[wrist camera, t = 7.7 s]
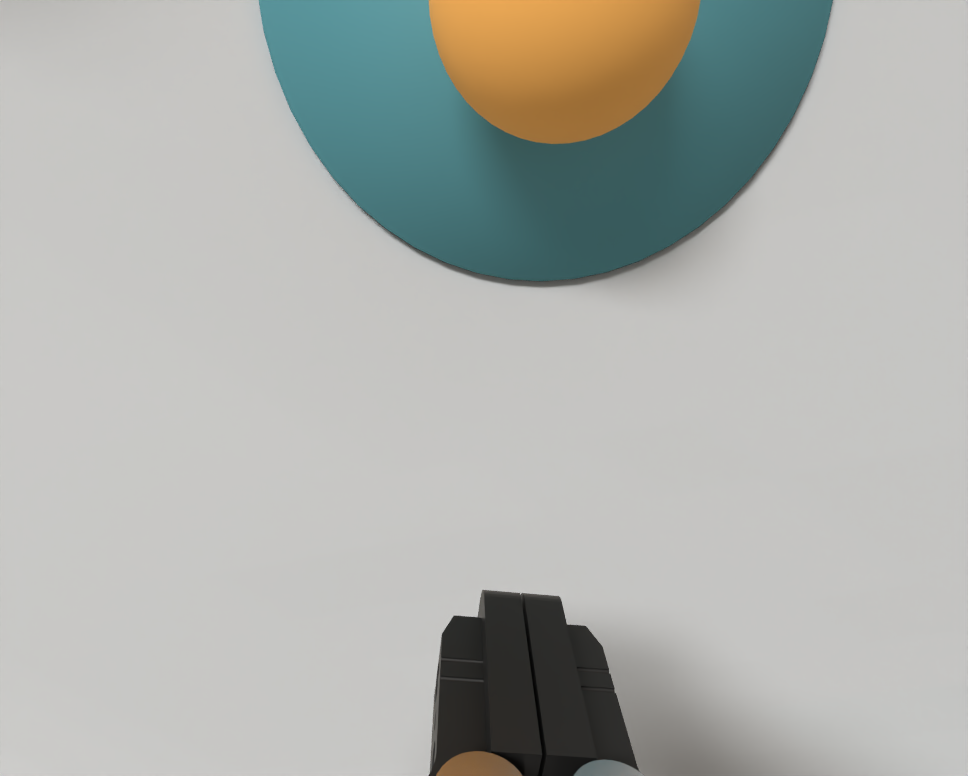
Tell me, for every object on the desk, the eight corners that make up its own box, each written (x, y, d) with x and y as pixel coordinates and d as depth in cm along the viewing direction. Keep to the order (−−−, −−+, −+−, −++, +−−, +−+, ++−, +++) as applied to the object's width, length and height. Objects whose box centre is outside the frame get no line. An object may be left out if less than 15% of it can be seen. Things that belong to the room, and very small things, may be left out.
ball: (815, -155, 10) (676, 190, 12) (683, -73, 15) (600, 162, 17) (487, -311, 9) (396, 100, 11) (461, -165, 14) (402, 98, 16)
